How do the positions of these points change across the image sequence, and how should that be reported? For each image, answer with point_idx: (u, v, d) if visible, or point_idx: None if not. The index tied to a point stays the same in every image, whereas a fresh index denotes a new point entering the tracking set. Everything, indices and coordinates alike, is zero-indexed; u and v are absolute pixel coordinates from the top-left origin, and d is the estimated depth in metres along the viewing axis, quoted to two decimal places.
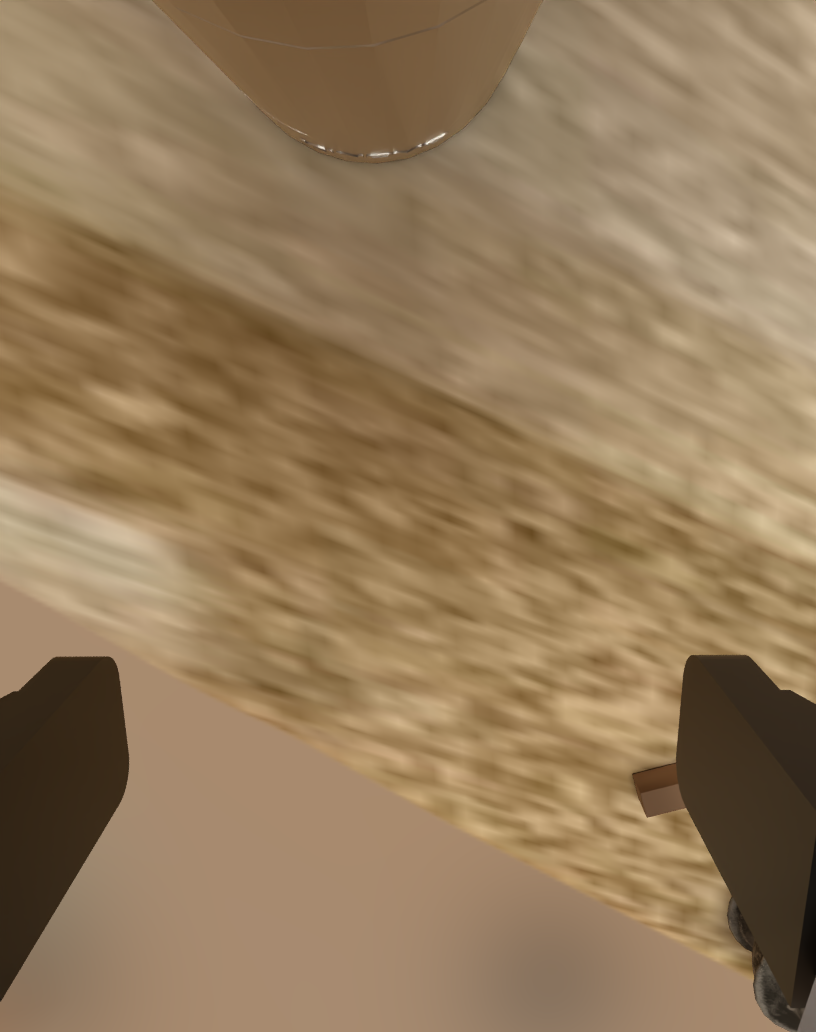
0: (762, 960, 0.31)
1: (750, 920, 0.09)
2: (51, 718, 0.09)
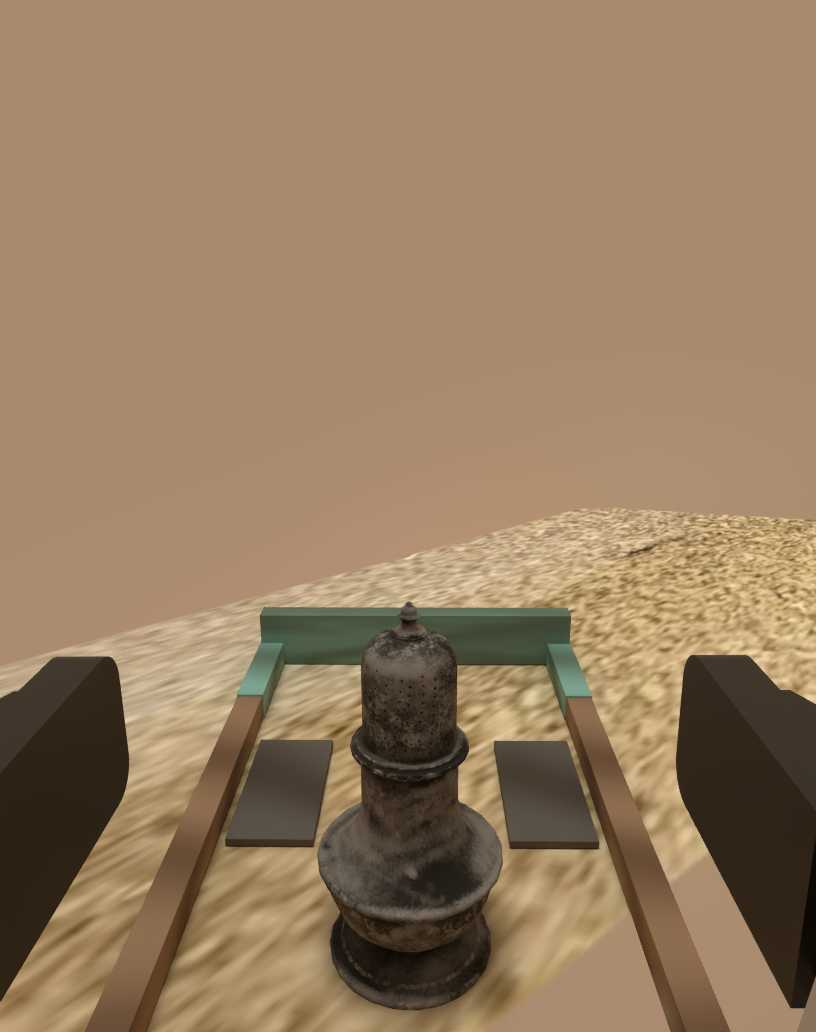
0: (349, 905, 0.23)
1: (750, 921, 0.09)
2: (51, 718, 0.09)
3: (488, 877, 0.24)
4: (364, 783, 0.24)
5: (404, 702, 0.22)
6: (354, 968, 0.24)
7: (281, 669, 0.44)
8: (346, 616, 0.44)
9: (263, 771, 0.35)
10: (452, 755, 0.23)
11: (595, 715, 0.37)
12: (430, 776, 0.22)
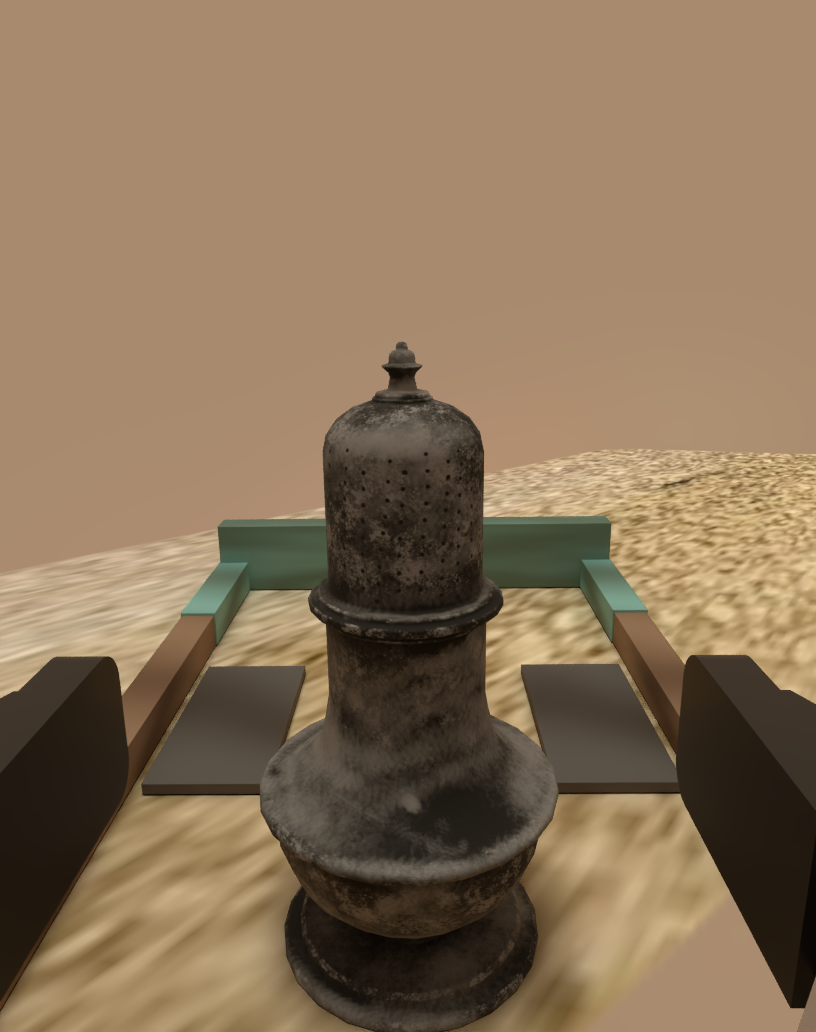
0: (306, 858, 0.13)
1: (750, 921, 0.09)
2: (51, 718, 0.09)
3: (538, 813, 0.14)
4: (331, 660, 0.14)
5: (395, 500, 0.13)
6: (320, 967, 0.15)
7: (245, 594, 0.35)
8: None
9: (208, 702, 0.25)
10: (477, 604, 0.14)
11: (655, 630, 0.28)
12: (441, 632, 0.13)
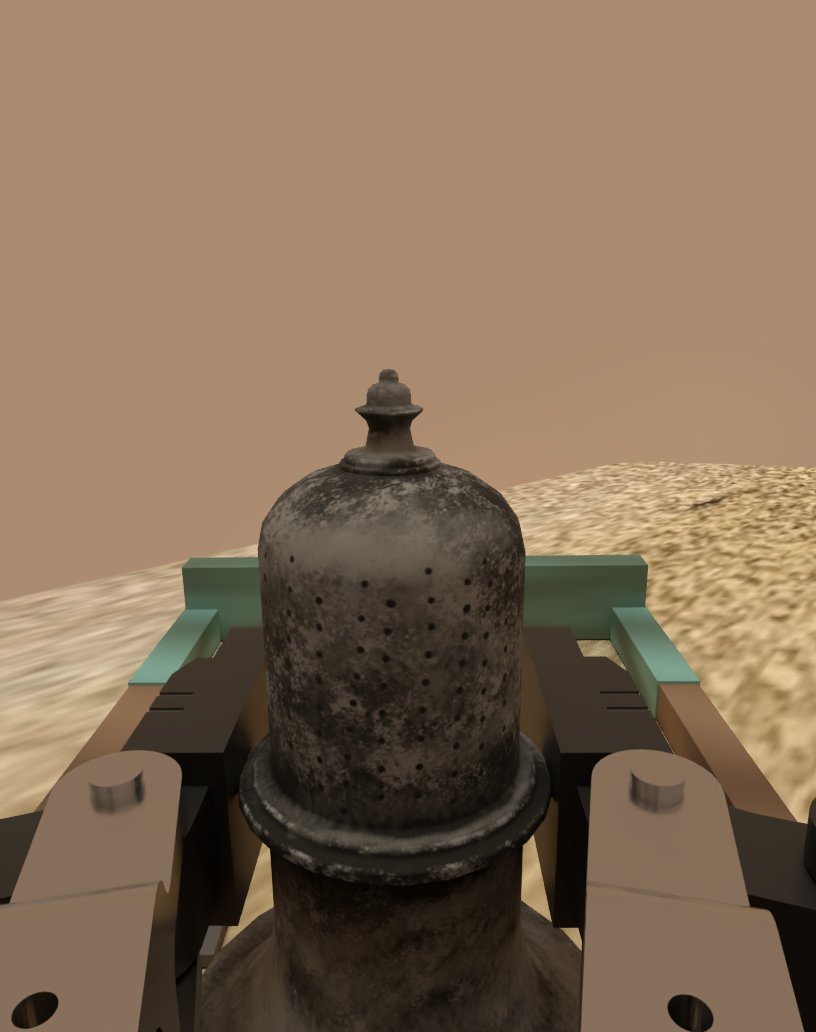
0: None
1: (541, 857, 0.10)
2: (255, 678, 0.10)
3: None
4: (274, 879, 0.09)
5: (374, 651, 0.07)
6: None
7: (214, 648, 0.30)
8: None
9: None
10: (513, 806, 0.08)
11: (713, 711, 0.22)
12: (453, 873, 0.08)
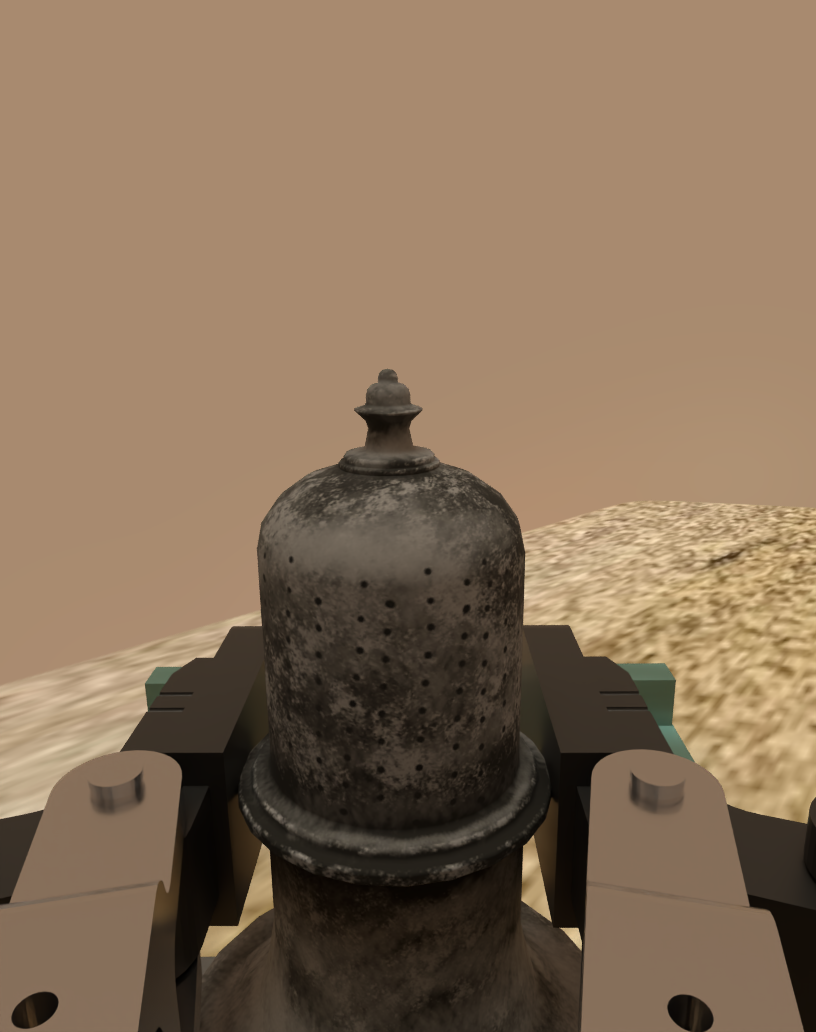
0: None
1: (540, 857, 0.10)
2: (256, 678, 0.10)
3: None
4: (274, 879, 0.09)
5: (373, 651, 0.07)
6: None
7: None
8: None
9: None
10: (513, 807, 0.08)
11: None
12: (453, 874, 0.08)
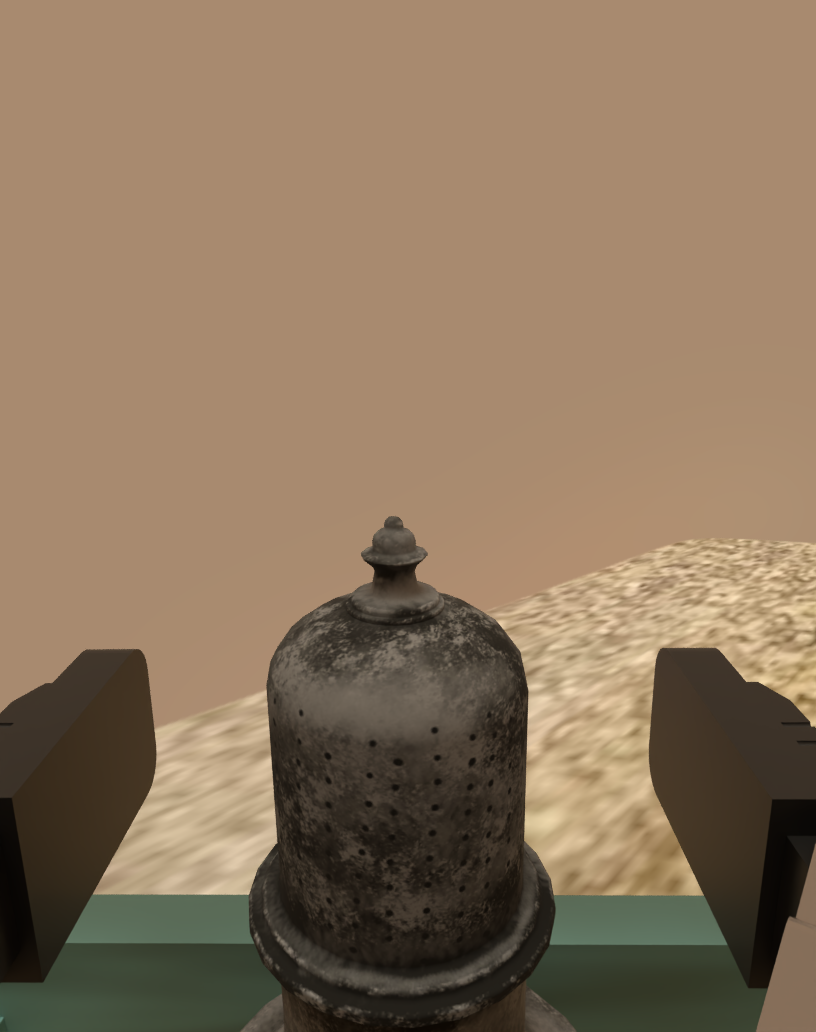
0: None
1: (713, 906, 0.09)
2: (87, 708, 0.09)
3: None
4: (284, 999, 0.09)
5: (381, 804, 0.07)
6: None
7: None
8: (191, 945, 0.14)
9: None
10: (517, 937, 0.08)
11: None
12: (460, 1014, 0.08)
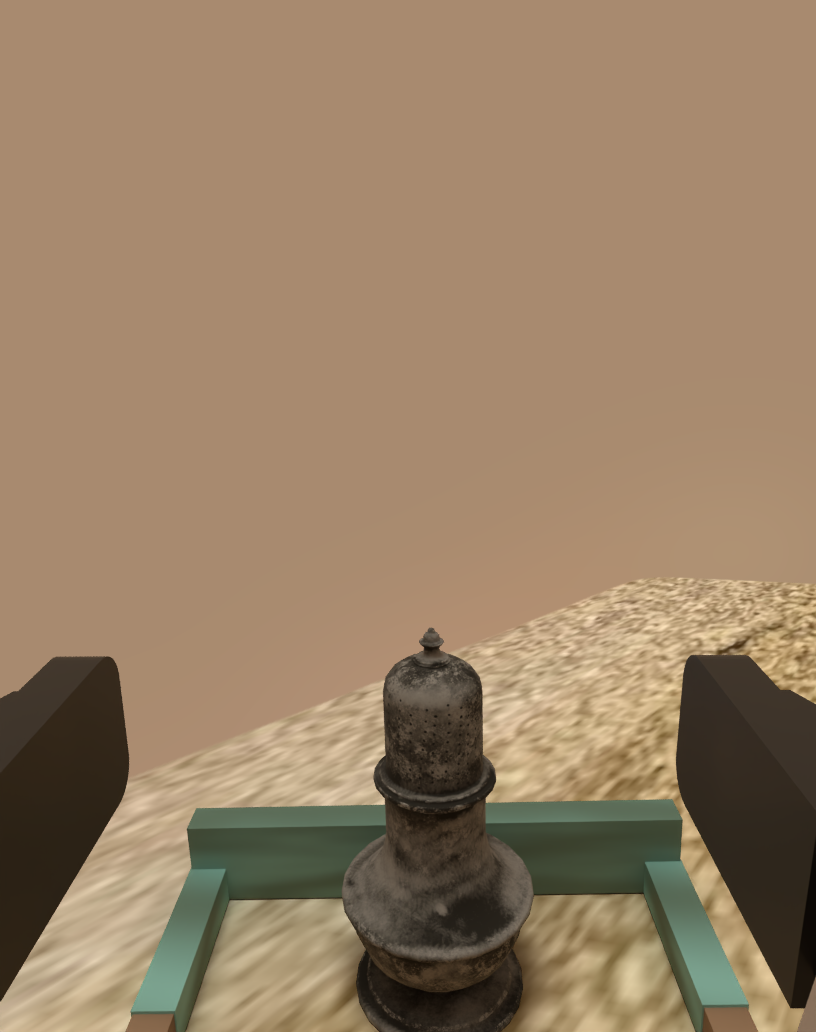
0: (378, 945, 0.22)
1: (749, 921, 0.09)
2: (52, 718, 0.09)
3: (520, 911, 0.23)
4: (389, 816, 0.23)
5: (430, 732, 0.21)
6: (383, 1010, 0.24)
7: (222, 915, 0.28)
8: (323, 827, 0.28)
9: None
10: (480, 785, 0.22)
11: None
12: (458, 808, 0.22)
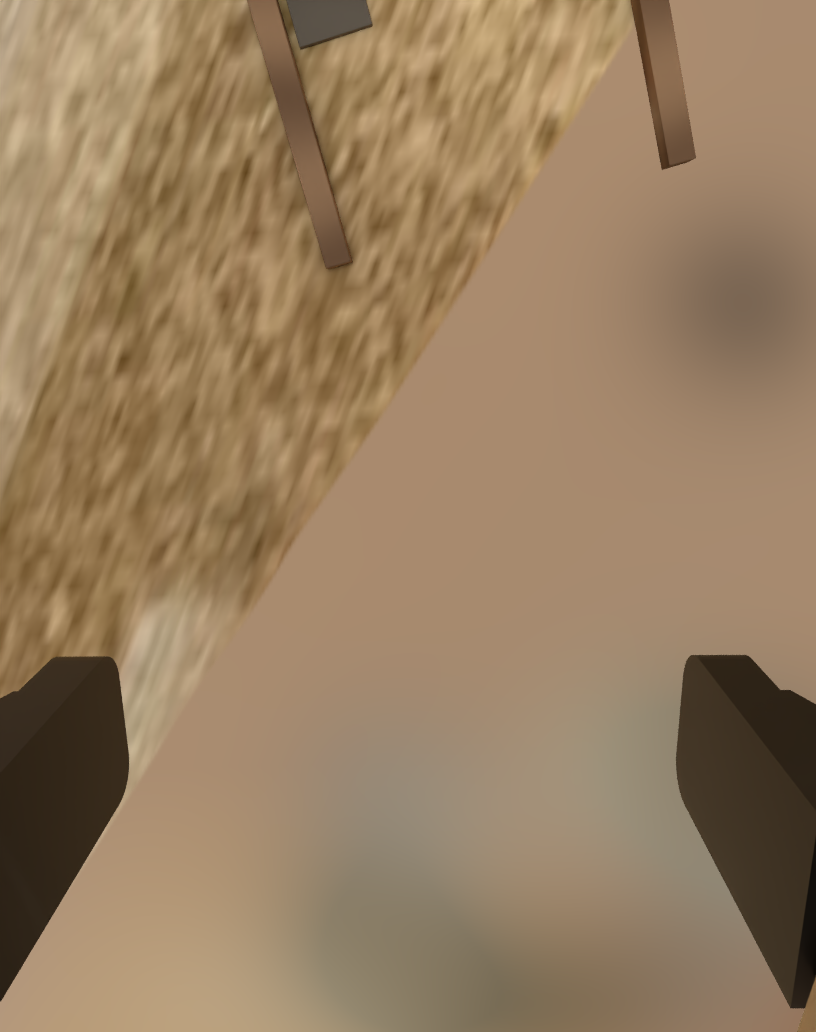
0: None
1: (749, 921, 0.09)
2: (51, 718, 0.09)
3: None
4: None
5: None
6: None
7: None
8: None
9: None
10: None
11: None
12: None
